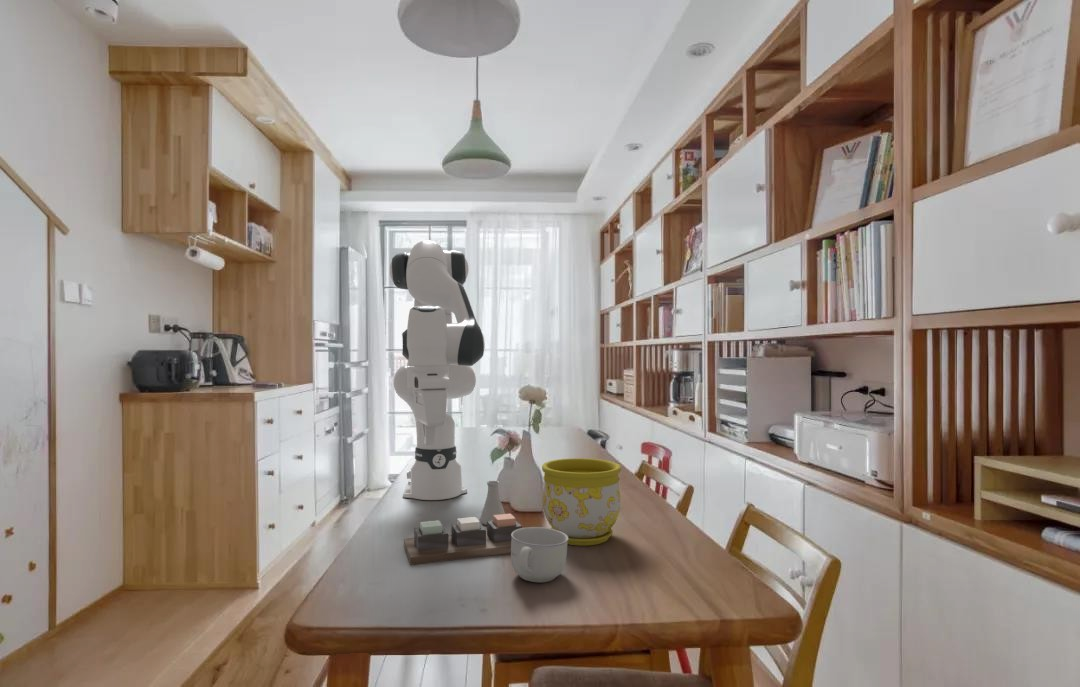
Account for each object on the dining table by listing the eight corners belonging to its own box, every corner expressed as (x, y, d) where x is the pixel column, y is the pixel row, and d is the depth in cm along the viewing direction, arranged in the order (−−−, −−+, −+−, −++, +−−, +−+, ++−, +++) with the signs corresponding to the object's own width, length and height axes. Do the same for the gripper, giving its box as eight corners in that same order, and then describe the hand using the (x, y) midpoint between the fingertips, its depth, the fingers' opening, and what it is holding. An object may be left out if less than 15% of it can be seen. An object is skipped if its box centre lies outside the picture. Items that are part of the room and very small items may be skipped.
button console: (403, 545, 127) (403, 525, 127) (517, 533, 136) (517, 514, 136) (410, 564, 116) (410, 542, 116) (534, 550, 125) (534, 529, 125)
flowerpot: (527, 542, 130) (527, 468, 130) (562, 521, 146) (562, 455, 146) (603, 555, 122) (603, 476, 122) (631, 532, 138) (631, 462, 138)
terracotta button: (493, 524, 130) (493, 515, 130) (510, 522, 131) (510, 513, 131) (497, 529, 126) (497, 520, 126) (515, 527, 128) (515, 518, 128)
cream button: (457, 527, 127) (457, 518, 127) (475, 525, 129) (475, 516, 129) (461, 533, 124) (461, 523, 124) (479, 531, 125) (479, 521, 125)
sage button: (420, 531, 125) (420, 522, 125) (439, 529, 126) (439, 520, 126) (422, 537, 121) (423, 527, 121) (442, 535, 122) (442, 525, 122)
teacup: (530, 562, 118) (530, 522, 118) (578, 573, 112) (578, 531, 112) (489, 586, 106) (489, 541, 106) (541, 599, 100) (541, 552, 100)
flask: (503, 527, 141) (503, 485, 141) (474, 525, 143) (474, 484, 143) (510, 518, 148) (510, 479, 148) (483, 517, 150) (483, 478, 150)
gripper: (407, 379, 135) (408, 439, 134) (419, 380, 116) (420, 451, 115) (435, 378, 137) (435, 438, 137) (451, 380, 118) (452, 449, 117)
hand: (429, 444), depth 126 cm, fingers closed
